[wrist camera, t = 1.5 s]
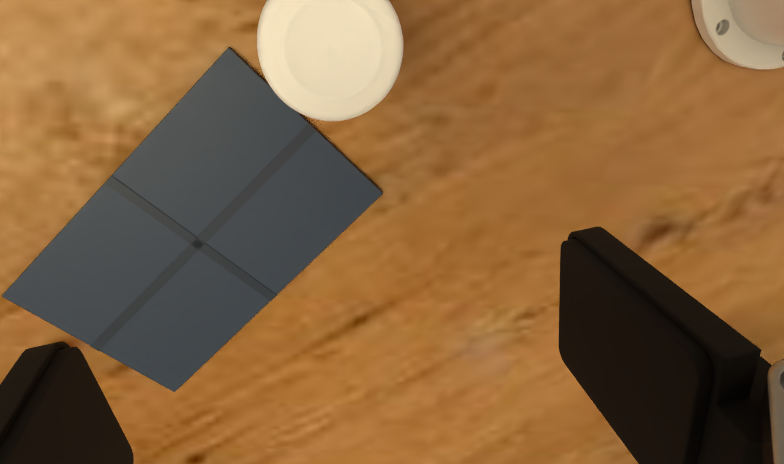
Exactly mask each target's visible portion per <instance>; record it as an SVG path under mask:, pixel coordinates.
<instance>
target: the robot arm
mask: <svg viewBox="0 0 784 464" xmlns="http://www.w3.org/2000/svg"><path fill="white" fill-rule="evenodd" d="M691 1H692V9H693V14H694V18H695V23H696V25H697V28H698V30H699V32H700V34H701V36H702V39H703V40H704V42H705V43H706V44H707V45H708V47H709V48H710V49H711V50H712V52H713V53H715V54H716V55H717V56H719V57H720V58H722V59H723V60H724V61H726V62H729V63H731V64H734V65H737V66H740V67H746V68H752V69H776V68H781V67H784V0H691ZM559 351H560V354H561V357H562V360H563V362H564V363H565V365H566V366H567V367H568V369H569V370H570V371H571V373H572V374H573V375H574V377H575V378H576V380H577V381H578V382H579V384H580V385H581V386H582V388H583V389H584V390H585V392H586V393H587V394H588V396H589V397H590V398H591V400H592V401H593V403H594V404H595V405H596V407H597V408H598V409H599V411H600V412H601V413H602V415H603V416H604V417H605V419H606V420H607V421H608V423H609V424H610V425H611V427H612V428H613V430H614V431H615V432H616V434H617V435H618V436H619V438H620V439H621V440H622V442H623V443H624V444H625V446H626V447H627V448H628V450H629V451H630V453H631V454H632V455H633V457H634V458H635V459H636V461H637V462H638V463H639V464H784V359H783V360H780V361H777V362H776V363H775V364H773V365H771V364H769V363H768V362H767V361H766V360H764V359H763V358H762V357H760V353H761V349H759V348H758V347H757V346H755V345H754V344H753V343H751V342H750V341H749V340H748V339H746V338H745V337H744V336H742V335H741V334H740V333H738V332H737V331H736V330H735V329H733V328H732V327H731V326H729V325H728V324H727V323H725V322H724V321H723V320H722V319H720V318H719V317H718V316H716V315H715V314H714V313H713V312H711V311H710V310H709V309H707V308H706V307H705V306H703V305H702V304H701V303H700V302H698V301H697V300H696V299H694V298H693V297H692V296H690V295H689V294H688V293H687V292H685V291H684V290H683V289H681V288H680V287H679V286H677V285H676V284H675V283H674V282H672V281H671V280H670V279H668V278H667V277H666V276H664V275H663V274H662V273H661V272H659V271H658V270H657V269H655V268H654V267H653V266H651V265H650V264H649V263H648V262H646V261H645V260H644V259H642V258H641V257H640V256H638V255H637V254H636V253H635V252H633V251H632V250H631V249H629V248H628V247H627V246H625V245H624V244H623V243H622V242H620V241H619V240H618V239H616V238H615V237H614V236H612V235H611V234H610V233H609V232H607V231H606V230H605V229H603V228H601V227H593V228H588V229H584V230H579V231H574V232H571V233H570V234H569V236H568V240H566V241H563V242H562V244H561V258H560V306H559ZM133 461H134V460H133V452H132V449H131V446H130V444H129V443H128V441H127V439H126V437H125V435H124V433H123V431H122V429H121V427H120V425H119V423H118V421H117V419H116V417H115V416H114V414H113V412H112V410H111V408H110V406H109V404H108V402H107V400H106V398H105V396H104V394H103V392H102V390H101V388H100V387H99V385H98V383H97V381H96V379H95V377H94V375H93V373H92V371H91V369H90V367H89V365H88V363H87V361H86V359H85V358H84V356H83V354H82V352H81V351H80V349H78V348H77V347H71V348H70V346H69V345H68V344H67V343H65V342H57V343H52V344H47V345H43V346H38V347H33V348H29V349H26V350H25V351H24V352H23V353H22V354H21V356H20V357H19V359H18V360H17V361H16V363H15V364H14V366H13V367H12V369H11V370H10V372H9V373H8V374H7V376H6V377H5V379H4V380H3V382H2V383H1V384H0V464H133Z"/></svg>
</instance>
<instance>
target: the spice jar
mask: <svg viewBox="0 0 784 464" xmlns="http://www.w3.org/2000/svg"><path fill="white" fill-rule="evenodd" d="M257 50H258V57H259V61H260V65H261V69H262V71H263V73H264V76H265V78H266V80H267V82H268V83H269V85H270V87H271V88H272V89H273V91H274V92H275V93H276V95H277V96H278V97H279V98H280V99H281V100H282V101H283V102H284V103H285V104H287V105H288V106H289V107H291V108H292V109H294V110H295V111H297V112H299V113H301V114H303V115H305V116H307V117H310V118H313V119H318V120H323V121H342V120H347V119H351V118H354V117H357V116H360V115H362V114H364V113H366V112H368V111H369V110H371V109H372V108H373V107H375V106H376V105H377V104H378V103H379V102H381V101H382V100H383V98H384V97H385V96H386V95H387V94H388V93H389V91H390V90H391V88H392V86H393V85H394V83H395V81H396V79H397V76H398V74H399V71H400V67H401V63H402V58H403V35H402V29H401V25H400V22H399V19H398V16H397V14H396V12H395V10H394V8H393V6H392V4H391V2H390V1H389V0H267V1H266V3H265V5H264V7H263V10H262V13H261V16H260V19H259V24H258V30H257Z"/></svg>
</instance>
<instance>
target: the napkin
mask: <svg viewBox="0 0 784 464" xmlns="http://www.w3.org/2000/svg"><path fill="white" fill-rule="evenodd" d="M382 194H383V193H382V191H381V190H380V189H379V188H378V187H377V186H375V185H374V184H373V183H372V182H371V181H370V180H369V179H368V178H367V177H366V176H365V175H364V174H363V173H362V172H361V171H360V170H359V169H358V168H356V167H355V166H354V165H353V164H352V163H351V162H350V161H349V160H348V159H347V158H346V157H345V156H344V155H343V154H342V153H341V152H340V151H339V150H337V149H336V148H335V147H334V146H333V145H332V144H331V143H330V142H329V141H328V140H327V139H326V138H325V137H324V136H323V135H322V134H321V133H320V132H318V131H317V130H316V129H315V128H314V127H313V126H312V125H311V124H310V123H309V122H308V121H307V120H306V119H305V118H304V117H303V116H302V115H301V114H299V113H298V112H297V111H295V110H294V109H292V108H291V107H289V106H288V105H287V104H285V103H284V102H283V101H282V100H281V99H280V98H279V97H278V96H277V95H276V93H275V92H274V91H273V89H272V88H271V87H270V85H269V84H268V83H267V82H266V81H265V80H264V79H263V78H261V77H260V76H259V75H258V74H257V73H256V72H255V71H254V70H253V69H252V68H251V67H250V66H249V65H248V64H247V63H246V62H245V61H244V60H242V59H241V58H240V57H239V56H238V55H237V54H236V53H235V52H234V51H233V50H232V49H231V48H230V47H228V49H227V50H226V51H225V52H224V53H223V54H222V55H221V56H220V57H219V58H218V59H217V61H216V62H215V63H214V64H213V65H212V66H211V67H210V68H209V69H208V70H207V72H206V73H205V74H204V75H203V76H202V77H201V78H200V79H199V80H198V81H197V82H196V84H195V85H194V86H193V87H192V88H191V89H190V90H189V91H188V92H187V93H186V95H185V96H184V97H183V98H182V99H181V100H180V101H179V102H178V103H177V104H176V105H175V107H174V108H173V109H172V110H171V111H170V112H169V113H168V114H167V115H166V116H165V118H164V119H163V120H162V121H161V122H160V123H159V124H158V125H157V126H156V127H155V128H154V130H153V131H152V132H151V133H150V134H149V135H148V136H147V137H146V138H145V139H144V141H143V142H142V143H141V144H140V145H139V146H138V147H137V148H136V149H135V150H134V151H133V153H132V154H131V155H130V156H129V157H128V158H127V159H126V160H125V161H124V162H123V164H122V165H121V166H120V167H119V168H118V169H117V170H116V171H115V172H114V173H113V174H112V176H111V177H110V178H109V179H108V180H107V181H106V182H105V183H104V184H103V185H102V187H101V188H100V189H99V190H98V191H97V192H96V193H95V194H94V195H93V196H92V197H91V199H90V200H89V201H88V202H87V203H86V204H85V205H84V206H83V207H82V208H81V210H80V211H79V212H78V213H77V214H76V215H75V216H74V217H73V218H72V219H71V220H70V222H69V223H68V224H67V225H66V226H65V227H64V228H63V229H62V230H61V231H60V233H59V234H58V235H57V236H56V237H55V238H54V239H53V240H52V241H51V242H50V243H49V245H48V246H47V247H46V248H45V249H44V250H43V251H42V252H41V253H40V254H39V256H38V257H37V258H36V259H35V260H34V261H33V262H32V263H31V264H30V265H29V266H28V268H27V269H26V270H25V271H24V272H23V273H22V274H21V275H20V276H19V277H18V279H17V280H16V281H15V282H14V283H13V284H12V285H11V286H10V287H9V288H8V289H7V291H6V292H5V293H4V294H3V295H2V297H4V298H6V299H7V300H9V301H11V302H13V303H15V304H16V305H18V306H20V307H22V308H24V309H25V310H27V311H29V312H31V313H33V314H34V315H36V316H38V317H40V318H42V319H43V320H45V321H47V322H49V323H51V324H53V325H54V326H56V327H58V328H60V329H62V330H63V331H65V332H67V333H69V334H71V335H72V336H74V337H76V338H78V339H80V340H81V341H83V342H85V343H87V344H89V345H90V346H91V347H92V348H94V349H96V350H98V351H101V352H103V353H105V354H107V355H108V356H110V357H112V358H114V359H116V360H118V361H119V362H121V363H123V364H125V365H127V366H128V367H130V368H132V369H134V370H136V371H137V372H139V373H141V374H143V375H145V376H146V377H148V378H150V379H152V380H154V381H155V382H157V383H159V384H161V385H163V386H164V387H166V388H168V389H170V390H172V391H173V392H175V391H176V390H177V389H178V388H179V387H180V386H181V385H182V384H184V383H185V382H186V381H187V380H188V379H189V378H190V377H191V376H192V375H193V374H194V373H195V372H196V371H197V370H198V369H199V368H200V367H201V366H202V365H203V364H205V363H206V362H207V361H208V360H209V359H210V358H211V357H212V356H213V355H214V354H215V353H216V352H217V351H218V350H219V349H220V348H221V347H222V346H223V345H224V344H225V343H227V342H228V341H229V340H230V339H231V338H232V337H233V336H234V335H235V334H236V333H237V332H238V331H239V330H240V329H241V328H242V327H243V326H244V325H245V324H246V323H248V322H249V321H250V320H251V319H252V318H253V317H254V316H255V315H256V314H257V313H258V312H259V311H260V310H261V309H262V308H263V307H264V306H265V305H266V304H267V303H268V302H270V301H271V300H272V299H273V298H274V297H275V296H277V294H278V293H279V292H280V291H281V290H282V289H283V288H284V287H285V286H286V285H287V284H288V283H289V282H291V281H292V280H293V279H294V278H295V277H296V276H297V275H298V274H299V273H300V272H301V271H302V270H303V269H304V268H305V267H306V266H307V265H308V264H309V263H310V262H311V261H313V260H314V259H315V258H316V257H317V256H318V255H319V254H320V253H321V252H322V251H323V250H324V249H325V248H326V247H327V246H328V245H329V244H330V243H331V242H332V241H334V240H335V239H336V238H337V237H338V236H339V235H340V234H341V233H342V232H343V231H344V230H345V229H346V228H347V227H348V226H349V225H350V224H351V223H352V222H353V221H354V220H356V219H357V218H358V217H359V216H360V215H361V214H362V213H363V212H364V211H365V210H366V209H367V208H368V207H369V206H370V205H371V204H372V203H373V202H374V201H375V200H377V199H378V198H379V197H380V196H381V195H382Z"/></svg>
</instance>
